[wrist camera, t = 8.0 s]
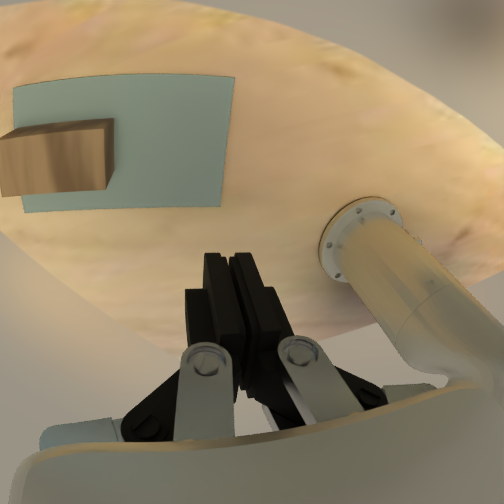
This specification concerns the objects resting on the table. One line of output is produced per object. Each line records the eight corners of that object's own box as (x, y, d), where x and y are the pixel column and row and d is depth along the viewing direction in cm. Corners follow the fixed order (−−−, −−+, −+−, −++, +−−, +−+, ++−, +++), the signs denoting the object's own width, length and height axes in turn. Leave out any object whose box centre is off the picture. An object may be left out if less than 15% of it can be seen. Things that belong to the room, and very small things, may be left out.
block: (104, 128, 20) (-6, 141, 17) (105, 190, 23) (1, 197, 20) (114, 118, 24) (17, 127, 21) (114, 170, 27) (22, 176, 24)
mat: (233, 77, 26) (234, 77, 25) (219, 204, 32) (220, 207, 32) (15, 87, 20) (13, 87, 19) (26, 210, 27) (24, 213, 26)
